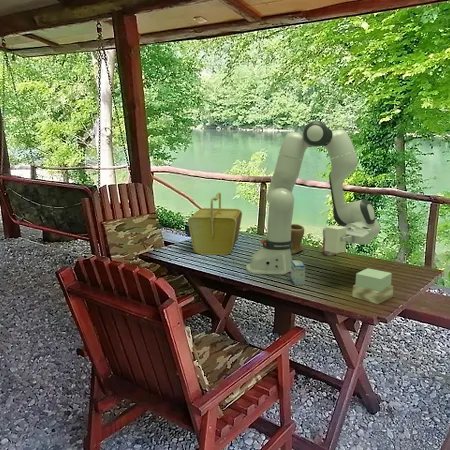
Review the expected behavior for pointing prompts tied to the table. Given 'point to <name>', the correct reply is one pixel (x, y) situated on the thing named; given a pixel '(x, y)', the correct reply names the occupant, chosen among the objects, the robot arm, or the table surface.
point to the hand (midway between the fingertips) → (334, 238)
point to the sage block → (373, 279)
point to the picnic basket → (214, 229)
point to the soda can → (327, 251)
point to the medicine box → (297, 272)
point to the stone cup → (296, 237)
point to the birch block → (372, 294)
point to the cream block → (335, 239)
